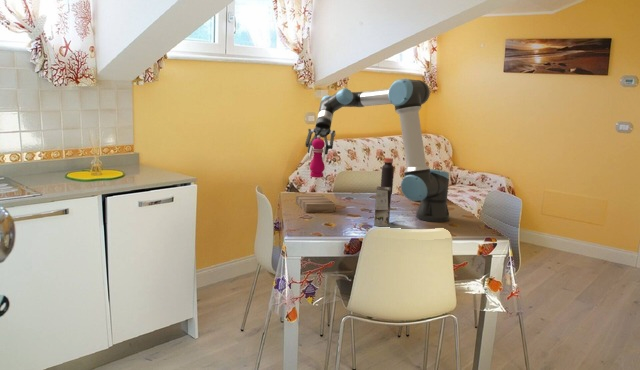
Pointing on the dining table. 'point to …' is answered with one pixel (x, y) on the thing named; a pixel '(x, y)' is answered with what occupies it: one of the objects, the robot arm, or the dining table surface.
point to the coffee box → (382, 206)
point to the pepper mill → (317, 158)
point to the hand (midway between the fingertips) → (316, 158)
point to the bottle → (387, 173)
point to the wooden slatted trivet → (315, 203)
